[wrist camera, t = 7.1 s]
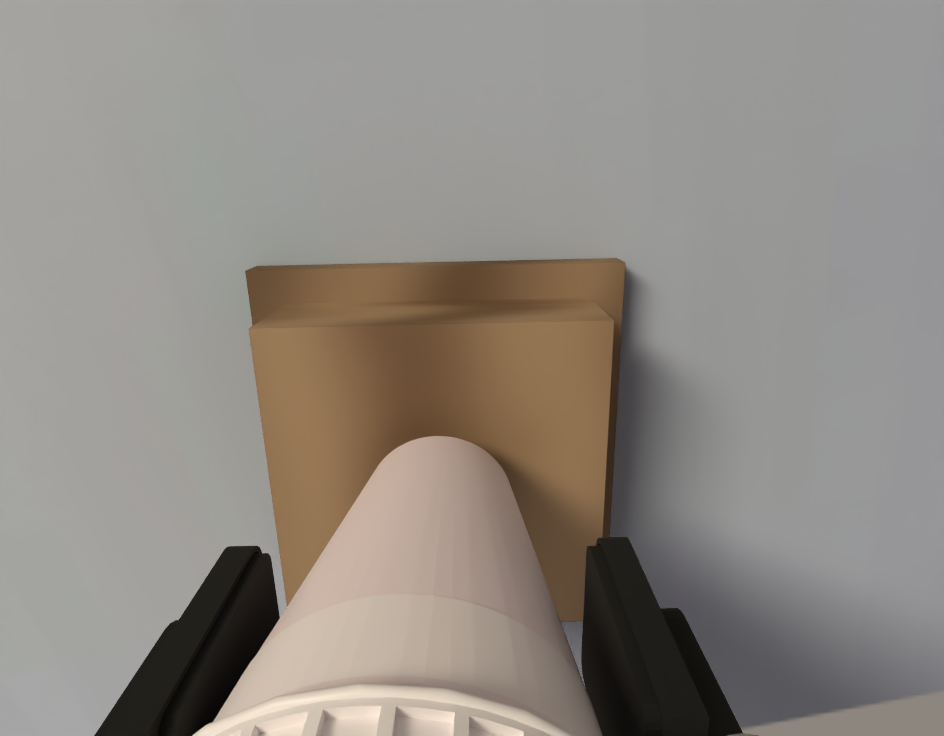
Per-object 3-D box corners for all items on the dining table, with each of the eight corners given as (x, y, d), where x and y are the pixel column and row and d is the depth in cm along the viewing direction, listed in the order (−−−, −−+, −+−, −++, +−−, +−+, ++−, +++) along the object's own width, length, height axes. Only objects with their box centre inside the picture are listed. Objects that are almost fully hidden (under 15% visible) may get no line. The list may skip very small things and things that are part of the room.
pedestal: (616, 258, 18) (657, 279, 14) (600, 564, 21) (629, 647, 18) (256, 266, 18) (201, 289, 14) (296, 571, 21) (260, 657, 18)
